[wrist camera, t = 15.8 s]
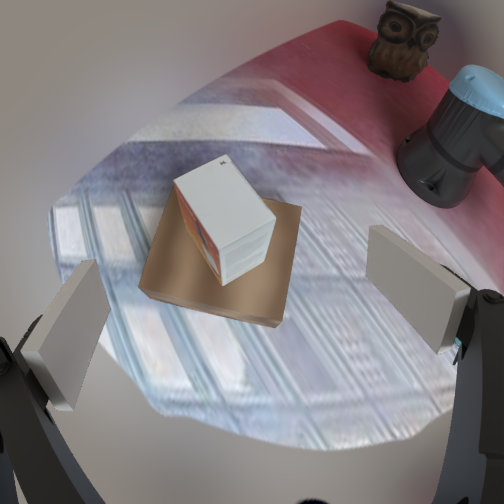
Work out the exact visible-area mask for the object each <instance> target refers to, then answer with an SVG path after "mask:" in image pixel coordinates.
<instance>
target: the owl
mask: <svg viewBox="0 0 504 504" xmlns="http://www.w3.org/2000/svg"><path fill="white" fill-rule="evenodd" d="M440 20H441V17H439V16H437V15H434V14H431V13H428V12H426V11H424V10H422V9H419V8H415V7H413V6H410V5H405V4H401V3H397V2H394V1H392V0H389V1H388V2H387V4H386V10H385V11H384V13H383V14H382V15H381V17H380V20H379V24H378V25H377V29H378V38H377V40H376V41H375V42H374V43H373V45H372V46H371V48H370V51H369V64H368V69H369V70H370V71H372V72H374V73H375V74H377V75H379V76H381V77H383V78H392V79H393V80H399V81H402V82H409V81H410V80H412V79H414V78H415V76H416V75H417V74H419V73H420V72H421V71H422V70H423V69H424V67H426V66H427V59H428V58H429V56H428V53H427V49H428V48H429V47H430V46H432V45H433V44H435V42H436V40H437V38H438V34H439V31H438V25H437V24H438V22H439V21H440Z"/></svg>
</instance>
